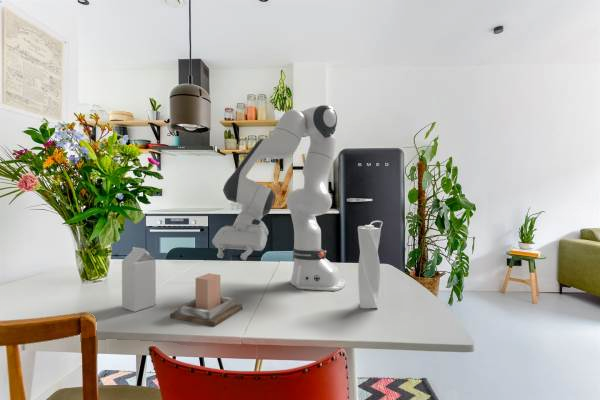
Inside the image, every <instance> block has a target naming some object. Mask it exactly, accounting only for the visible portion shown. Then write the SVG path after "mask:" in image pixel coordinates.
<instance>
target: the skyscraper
mask: <svg viewBox="0 0 600 400" xmlns="http://www.w3.org/2000/svg"><path fill="white" fill-rule="evenodd" d="M375 223H381V224H380V227H375V225H372V224H375ZM383 224H384V222H383V221H382V220H379V219H377V220H373V221H371V222H370V224H365V225H359V226H358V227H357V233H358V234H357V235H358V236H357V237H358V245H359V257H358V269H357V280H358V281H357V282H358V283H357V285H358V295H359V296H358V297H359V307H360V309H369V308H377V309H376V310H378V309H379V307H378V305H377V304H378V301H379V300H378V299H379V294H380V293H379V291H380V284H381V265H380V264H381V263H380V262H381V261H380V257H379V252H378V251H379V245H380V239H381V233H382V232H381V231H382V226H383Z"/></svg>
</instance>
